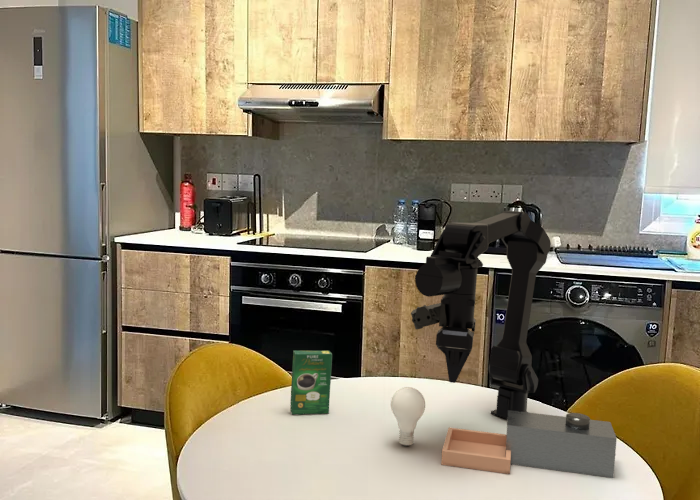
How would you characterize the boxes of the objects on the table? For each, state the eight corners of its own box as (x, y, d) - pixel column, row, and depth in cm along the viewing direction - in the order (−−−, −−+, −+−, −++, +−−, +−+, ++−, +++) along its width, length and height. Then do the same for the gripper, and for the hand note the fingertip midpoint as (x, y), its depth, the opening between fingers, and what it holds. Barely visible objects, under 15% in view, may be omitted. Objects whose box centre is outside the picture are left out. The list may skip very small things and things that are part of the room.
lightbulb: (421, 454, 121) (424, 395, 120) (386, 450, 122) (389, 391, 121) (424, 440, 127) (427, 384, 126) (391, 437, 129) (394, 381, 127)
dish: (448, 440, 128) (448, 427, 128) (510, 448, 125) (511, 435, 125) (441, 464, 117) (442, 450, 117) (509, 474, 114) (510, 460, 114)
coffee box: (327, 409, 142) (329, 348, 141) (330, 414, 140) (332, 352, 138) (289, 410, 141) (291, 349, 139) (291, 415, 138) (293, 353, 136)
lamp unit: (504, 463, 119) (507, 416, 118) (505, 445, 127) (508, 401, 126) (613, 477, 114) (617, 429, 113) (607, 458, 122) (610, 412, 121)
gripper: (421, 282, 134) (416, 359, 135) (409, 295, 115) (403, 384, 117) (478, 287, 131) (472, 365, 133) (475, 301, 113) (468, 391, 114)
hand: (453, 375), depth 124 cm, fingers open, 9 cm apart
